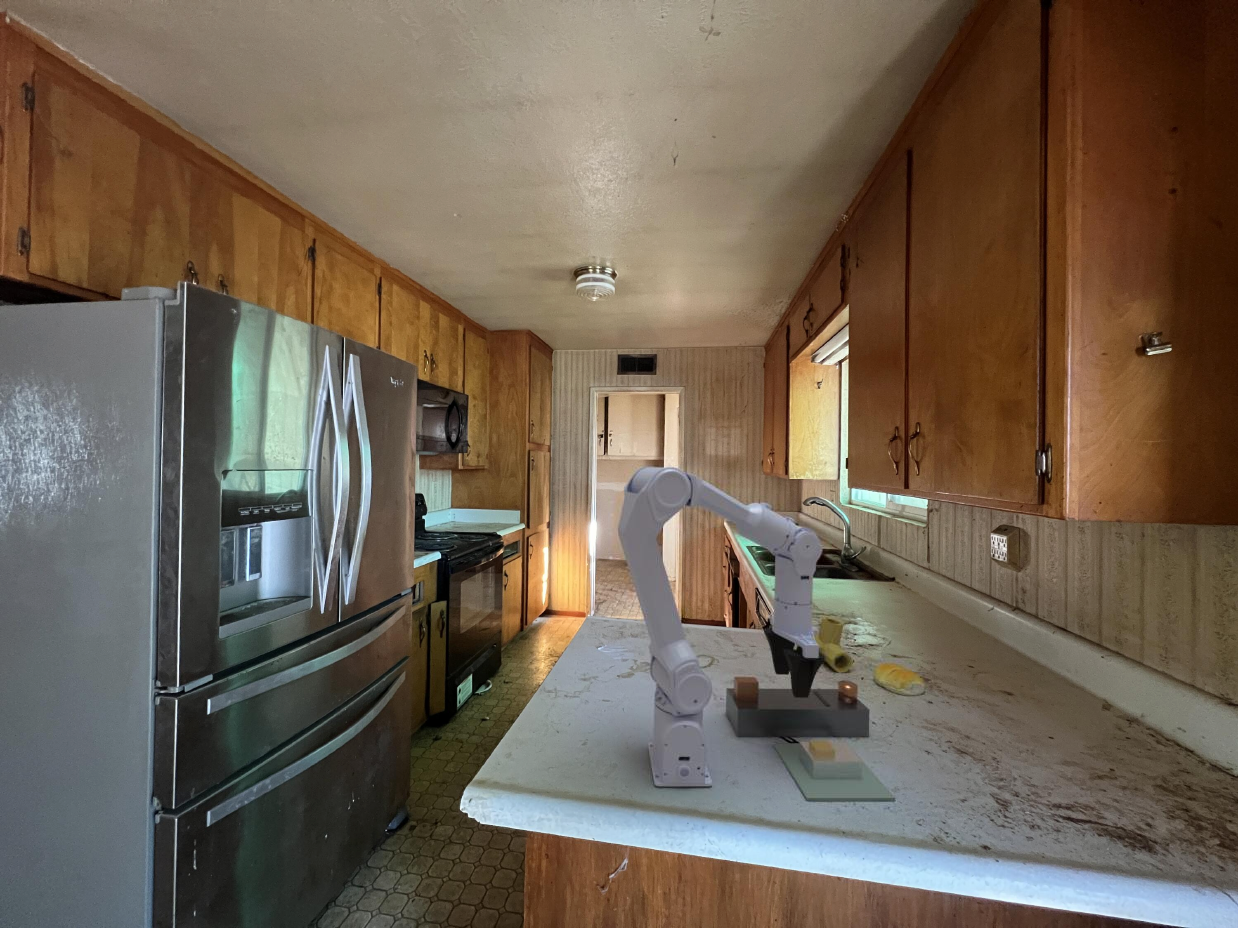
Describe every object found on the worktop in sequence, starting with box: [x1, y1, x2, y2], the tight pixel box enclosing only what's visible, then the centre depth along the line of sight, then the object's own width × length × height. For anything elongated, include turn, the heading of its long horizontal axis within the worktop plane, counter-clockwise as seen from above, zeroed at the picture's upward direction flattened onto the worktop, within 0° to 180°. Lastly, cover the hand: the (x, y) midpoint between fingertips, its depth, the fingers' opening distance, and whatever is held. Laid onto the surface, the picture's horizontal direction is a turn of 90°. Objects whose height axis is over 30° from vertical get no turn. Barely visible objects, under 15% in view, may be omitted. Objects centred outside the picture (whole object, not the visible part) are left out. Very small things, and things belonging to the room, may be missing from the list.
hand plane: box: [725, 676, 871, 738], centre depth 79 cm, size 7×22×8 cm, turn 92°
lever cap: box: [798, 739, 863, 779], centre depth 67 cm, size 5×7×3 cm, turn 92°
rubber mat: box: [772, 742, 896, 802], centre depth 67 cm, size 12×12×1 cm
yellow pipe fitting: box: [796, 616, 853, 674], centre depth 106 cm, size 13×10×10 cm
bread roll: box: [873, 663, 925, 696], centre depth 95 cm, size 8×9×4 cm
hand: (790, 684), depth 74 cm, fingers open, 7 cm apart
